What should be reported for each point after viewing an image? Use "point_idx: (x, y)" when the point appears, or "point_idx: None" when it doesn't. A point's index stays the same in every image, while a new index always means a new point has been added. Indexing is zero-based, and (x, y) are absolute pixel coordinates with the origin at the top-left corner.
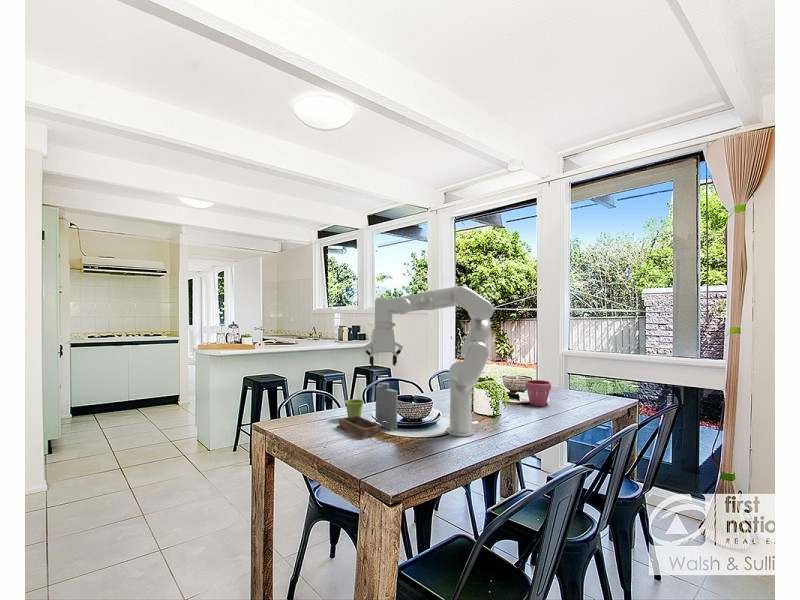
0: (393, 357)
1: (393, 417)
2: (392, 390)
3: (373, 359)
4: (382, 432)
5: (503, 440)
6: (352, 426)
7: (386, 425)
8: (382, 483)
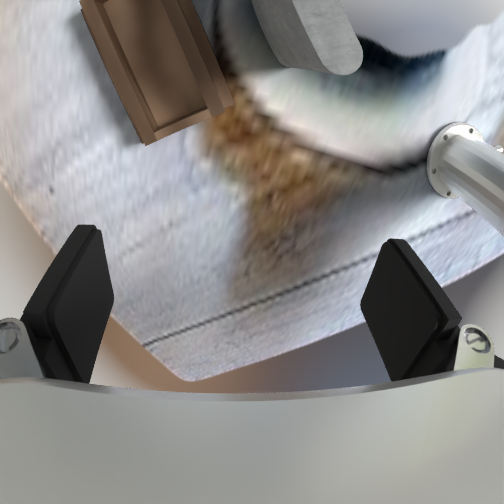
0: (402, 358)
1: (295, 67)
2: (336, 36)
3: (94, 362)
4: (230, 105)
5: (482, 236)
6: (117, 83)
7: (267, 37)
8: (177, 361)
